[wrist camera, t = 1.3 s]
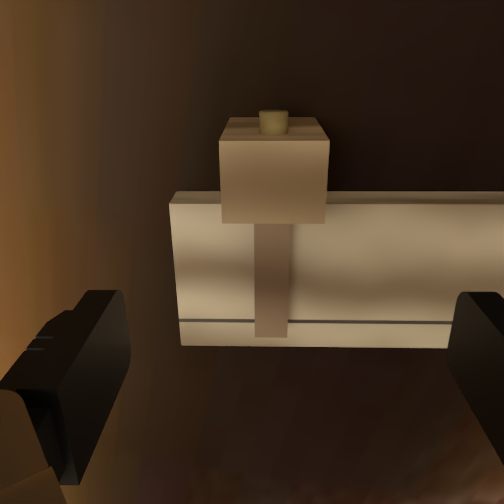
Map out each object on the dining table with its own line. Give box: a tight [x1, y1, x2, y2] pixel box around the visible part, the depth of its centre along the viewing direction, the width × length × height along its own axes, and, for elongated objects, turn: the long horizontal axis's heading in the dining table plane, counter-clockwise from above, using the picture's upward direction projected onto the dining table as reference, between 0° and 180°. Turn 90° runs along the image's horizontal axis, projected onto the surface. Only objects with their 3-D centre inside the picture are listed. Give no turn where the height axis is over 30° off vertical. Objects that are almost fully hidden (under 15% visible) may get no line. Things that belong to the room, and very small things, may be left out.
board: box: [169, 191, 504, 348], centre depth 30 cm, size 10×28×2 cm, turn 90°
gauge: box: [219, 110, 330, 338], centre depth 26 cm, size 14×5×7 cm, turn 0°
